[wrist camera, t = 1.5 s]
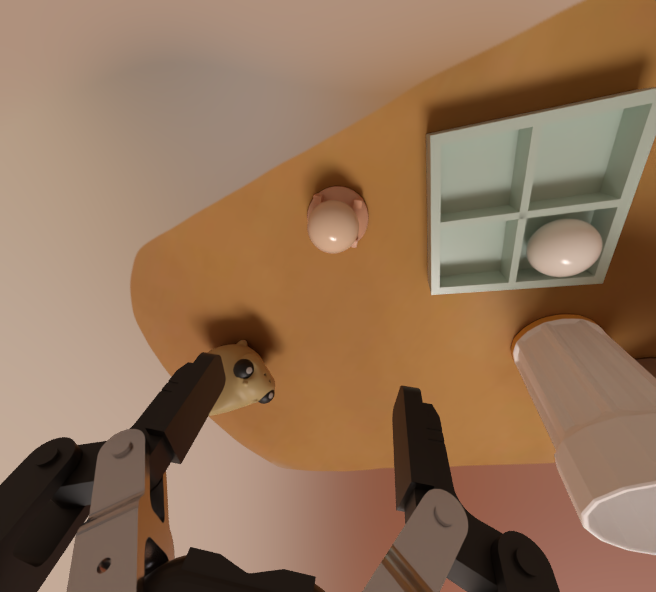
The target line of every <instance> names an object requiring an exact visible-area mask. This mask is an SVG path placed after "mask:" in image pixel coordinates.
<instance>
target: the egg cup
mask: <svg viewBox="0 0 656 592" xmlns="http://www.w3.org/2000/svg"><path fill="white" fill-rule="evenodd" d="M328 200H338V201H342V202H344V203H346V204H348V205H349V206H350V207H351V208H352V209H353V210H354V211H355V213H356V215H357V217H358V221H359V232H358V236H357V238H356V240H355V242H354V243H353V244H352V245H351V246H350V247H355V248H356V247H357V242H358V241H359V240H360V239H361V238H362V236H363V235H364V233H365V231H366V228H367V225H368V210H367V206H366V204H365V202H364V200H363V198H361V196H360V195H359V194H357V193H356V192H355V191H353V190H352V189H350V188H347V187H343V186H332V187H328V188H326V189H324V190H322V191H321V192H319V193H315V194H314V195H313V200H312V202H311V203H310V206H309V209H308V215H307V218H308V219H309V216H310V214H311V212H312V211H313V209H314V208H315V207H316V206H318V205H319V204H321V203H322V202H325V201H328Z"/></svg>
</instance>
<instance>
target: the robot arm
mask: <svg viewBox="0 0 656 592" xmlns="http://www.w3.org/2000/svg"><path fill="white" fill-rule="evenodd" d="M636 361H637V362H638V363H639V364H640V365H641V366H643V367H644V368H645V369H646V370H647V371H648V372H649V373H650V374H651V375H652V376H654V377H655V378H656V358H647V359H637V360H636ZM225 381H226V376H225V372H224V367H223V363H222V359H221V356H220V355H217V354H211V353H205V352H203V353H201V354H200V355H199V356H198V357H197V359H196V360H195V361H194V363H189V362H188V363H187V364H185V365H184V366H182V367H181V368H180V369H178V370H177V371H176V372H175V373H174V375H173V376H172V377H171V378H170V380H169V382H168V383H167V384H166V385H165V386H164V387H163V389H162V391H161V392H159V394H158V395H157V396H156V397H155V399H154V400H153V401H152V402H151V404H150V405H149V406H148V408H147V409H146V410H145V411H144V413H143V414H142V415H141V416H140V418H139V419H138V420H137V421H136V423H135V424H134V425H133V426H132V427H131V428H130V429H128V430H124V431H121V432H119V433H117V434H115V435H114V436H112V437H111V438H110V439H109V440H108V441H103V442H96V443H90V444H83V445H77V444H76V443H75V442H74V441H73V440H72V439H70V438H65V437H62V438H57V439H53V440H51V441H49V442H46V443H45V444H43V445H41V446H40V447H38V448H37V449H35V450H34V451H33V452H32V453H31V454H30V455H29V456H28V457H27V458H26V459H25V460H24V461H23V462H22V463H21V464H20V465H19V466H18V467H17V468H16V469H15V470H14V471H13V472H12V473H11V474H10V475H9V476H8V478H7V479H6V480H5V481H4V482H3V483H2V484H1V485H0V592H37V591H38V590H39V589H40V587H41V586H42V584H43V582H44V581H45V580H46V578H47V577H48V575H49V574H50V572H51V570H52V569H53V568H54V566H55V565H56V563H57V562H58V560H59V559H60V557H61V556H62V554H63V553H64V551H65V550H66V548H67V547H68V545H69V544H70V542H71V541H72V539H73V538H74V536H75V535H76V538H75V544H74V550H73V556H72V562H71V568H70V574H69V581H68V587H67V592H325V591H324V590H323V589H321V588H320V587H319V586H317V585H316V584H315V577H314V576H310V575H306V574H302V573H298V572H293V571H289V570H285V569H282V570H275V571H266V572H259V573H246V572H245V571H243V570H242V569H240V568H239V567H238V566H236V565H234V564H233V563H232V562H230V561H229V560H228V559H226V558H225V557H224V556H222V555H221V554H217V553H213V552H209V551H205V550H201V549H197V548H192V547H190V549H189V551H188V554H187V555H186V556H182V557H178V558H175V556H174V545H173V539H172V535H171V532H170V528H169V520H168V519H169V518H168V499H167V480H166V470H167V468H168V466H169V465H170V463H171V462H173V463H178V464H181V463H182V461H183V460H184V458H185V456H186V454H187V452H188V451H189V449H190V447H191V445H192V443H193V442H194V440H195V438H196V437H197V435H198V433H199V431H200V429H201V428H202V426H203V424H204V422H205V421H206V419H207V417H208V415H209V414H210V412H211V410H212V408H213V407H214V405H215V403H216V401H217V400H218V398H219V396H220V394H221V393H222V391H223V389H224V386H225ZM393 444H394V467H395V488H396V510H398V511H404V512H405V526H404V528H403V529H402V531H401V532H400V534H399V535H398V537H397V539H396V540H395V542H394V543H393V545H392V547H391V548H390V550H389V551H388V553H387V554H386V556H385V557H384V559H383V560H382V562H381V564H380V565H379V567H378V568H377V569H376V571H375V573H374V574H373V576H372V577H371V579H370V580H369V582H368V584H367V585H366V587H365V588H364V590H363V591H362V592H440V590H441V588H442V586H443V584H444V582H445V580H446V578H448V579H449V580H451V581H452V582H453V583H455V584H457V585H458V586H459V587H461V588H462V589H464V590H465V591H467V592H560V591H559V588H558V585H557V582H556V579H555V576H554V573H553V570H552V568H551V565H550V563H549V561H548V559H547V558H546V556H545V554H544V553H543V552H542V550H541V549H540V548H539V547H538V546H537V545H536V544H535V543H534V542H533V541H532V540H531V539H530V538H528V537H527V536H525V535H523V534H521V533H518V532H515V531H508V532H505V533H504V534H502V533H500V532H499V531H497V530H495V529H494V528H492V527H490V526H488V525H486V524H485V523H483V522H481V521H480V520H478V519H477V518H475V517H474V516H472V515H471V514H470V513H469V512H468V511H467V510H466V509H465V508H464V507H463V505H462V504H461V503H460V501H459V499H458V498H457V496H456V493H455V491H454V487H453V482H452V477H451V472H450V467H449V462H448V457H447V452H446V447H445V444H444V437H443V433H442V427H441V422H440V417H439V415H438V414H437V412H436V410H435V409H434V407H433V405H432V404H427V403H422V396H421V391H420V389H419V388H413V387H407V386H401V387H400V390H399V393H398V396H397V399H396V402H395V405H394V409H393ZM88 516H89V518H88V520H87V521H86V522H85V520H86V519H87V517H88ZM84 522H85V523H84ZM76 533H77V534H76Z"/></svg>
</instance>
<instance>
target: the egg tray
mask: <svg viewBox="0 0 656 592" xmlns="http://www.w3.org/2000/svg"><path fill="white" fill-rule="evenodd" d="M655 136H656V87H652V88H644V89H637V90H632V91H627V92H623V93H618V94H613V95H609V96H604V97H599V98H594V99H590V100H585V101H580V102H575V103H571V104H566V105H561V106H556V107H552V108H547V109H542V110H538V111H533V112H528V113H523V114H519V115H514V116H509V117H504V118H500V119H495V120H490V121H486V122H481V123H476V124H471V125H467V126H462V127H457V128H452V129H448V130H443V131H438V132H433V133H429V134H426V172H427V247H428V283H429V287H430V291H431V295H437V294H452V293H468V292H483V291H498V290H513V289H528V288H543V287H558V286H573V285H588V284H603V281H604V279H605V276H606V273H607V270H608V267H609V265H610V262H611V259H612V256H613V253H614V251H615V248H616V245H617V242H618V239H619V237H620V234H621V231H622V228H623V225H624V222H625V220H626V217H627V214H628V211H629V208H630V206H631V203H632V200H633V197H634V194H635V192H636V189H637V186H638V183H639V180H640V178H641V175H642V172H643V169H644V166H645V164H646V161H647V158H648V155H649V152H650V150H651V147H652V144H653V141H654V138H655ZM567 218H571V219H579V220H582V221H585V222H587V223H589V224H591V225H592V226H594V227H595V228H596V229H597V231H598V232H599V234H600V236H601V238H602V251H601V254H600V256H599V258H598V259H597V260H596V262H595V263H594V264H593V265H592V266H591V267H589V268H588V269H586V270H585V271H583V272H581V273H578V274H576V275H572V276H567V277H553V276H548V275H545V274H543V273H541V272H539V271H537V270H536V269H535V268H533V267H532V265H531V264H530V263H529V261H528V258H527V255H526V247H527V243H528V241H529V239H530V237H531V236H532V234H533V233H534V232H535V231H536V230H537V229H539V228H540V227H541V226H543V225H545V224H547V223H549V222H551V221H554V220H558V219H567Z"/></svg>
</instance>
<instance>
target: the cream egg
mask: <svg viewBox="0 0 656 592" xmlns="http://www.w3.org/2000/svg"><path fill="white" fill-rule="evenodd" d="M601 251H602V238H601V236H600V234H599V232H598V231H597V229H596V228H595V227H594V226H592V225H591V224H589V223H587V222H585V221H582V220H579V219H571V218H567V219H558V220H554V221H551V222H549V223H547V224H545V225H543V226H541V227H540V228H539V229H537V230H536V231H535V232H534V233H533V234H532V236H531V237H530V239H529V241H528V243H527V247H526V255H527V258H528V261H529V263H530V264H531V265H532V267H533V268H535V269H536V270H537V271H539V272H541V273H543V274H545V275H548V276H553V277H567V276H572V275H576V274H578V273H581V272H583V271H585V270H586V269H588V268H589V267H591V266H592V265H593V264H594V263H595V262H596V260H597V259H598V258H599V256H600V254H601Z"/></svg>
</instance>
